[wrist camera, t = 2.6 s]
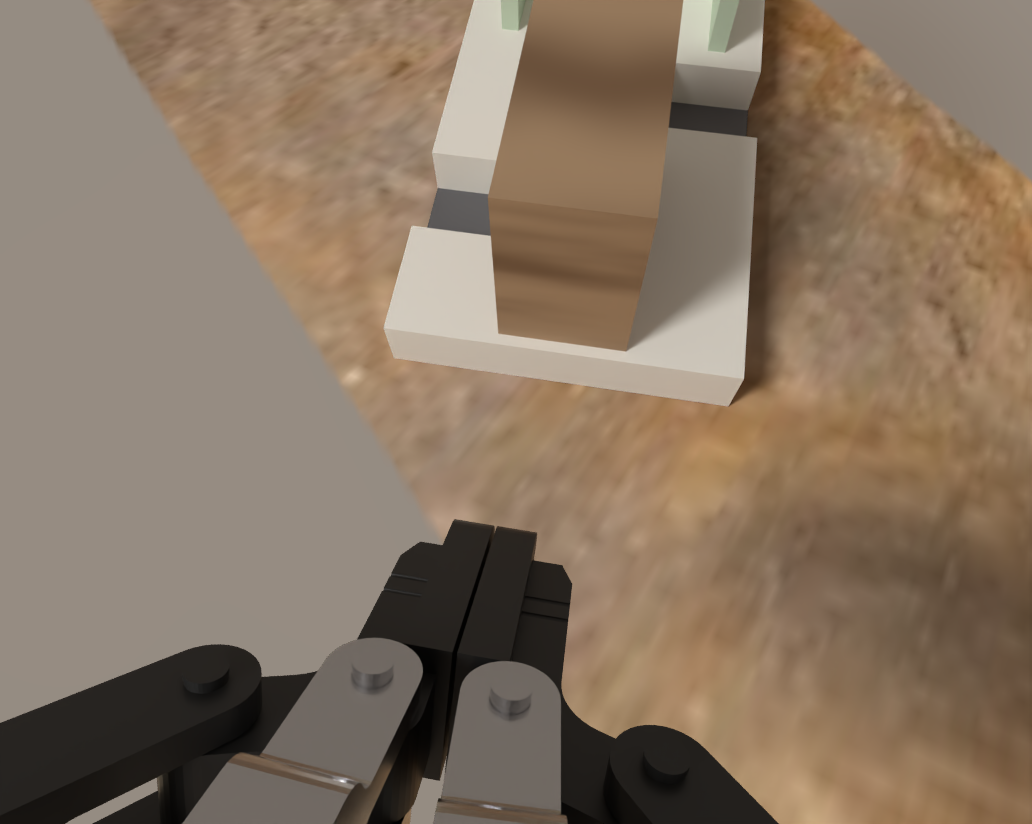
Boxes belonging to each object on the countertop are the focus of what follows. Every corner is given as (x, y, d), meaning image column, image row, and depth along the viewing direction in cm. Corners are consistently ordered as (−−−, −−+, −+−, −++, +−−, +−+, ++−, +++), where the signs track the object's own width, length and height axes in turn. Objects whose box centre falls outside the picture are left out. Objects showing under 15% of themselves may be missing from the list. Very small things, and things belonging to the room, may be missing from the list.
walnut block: (626, 351, 29) (657, 218, 22) (498, 333, 30) (487, 197, 22) (651, 152, 33) (685, -16, 26) (538, 139, 34) (540, -31, 26)
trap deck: (728, 406, 31) (766, 339, 26) (393, 358, 32) (368, 285, 27) (752, 27, 40) (784, -77, 35) (488, 0, 41) (482, -104, 36)
